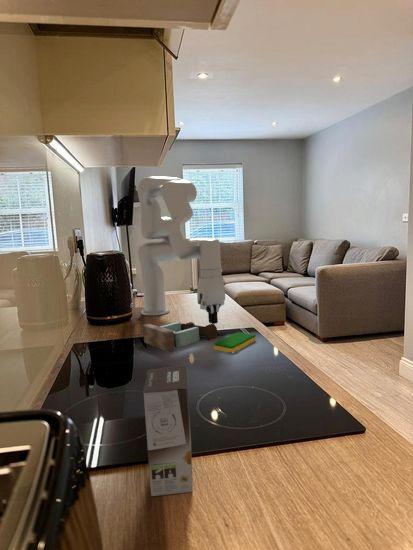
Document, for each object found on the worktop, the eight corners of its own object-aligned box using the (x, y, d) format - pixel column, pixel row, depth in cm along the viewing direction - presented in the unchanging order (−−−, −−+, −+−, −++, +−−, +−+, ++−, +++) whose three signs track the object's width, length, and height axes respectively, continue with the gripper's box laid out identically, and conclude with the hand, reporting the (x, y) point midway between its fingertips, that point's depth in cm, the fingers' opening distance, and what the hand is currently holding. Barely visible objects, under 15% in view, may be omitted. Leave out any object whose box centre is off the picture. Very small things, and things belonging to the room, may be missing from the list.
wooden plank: (144, 342, 127) (142, 325, 126) (150, 340, 129) (149, 323, 128) (168, 351, 116) (166, 333, 116) (174, 349, 118) (173, 331, 117)
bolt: (183, 337, 137) (214, 342, 127) (174, 333, 134) (205, 339, 124) (187, 321, 139) (219, 326, 129) (178, 317, 135) (210, 322, 125)
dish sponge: (213, 350, 117) (213, 343, 116) (238, 338, 127) (237, 331, 127) (232, 354, 112) (232, 346, 112) (256, 341, 123) (256, 334, 123)
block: (156, 340, 129) (155, 327, 128) (178, 334, 135) (178, 321, 134) (176, 347, 120) (175, 334, 119) (199, 340, 126) (198, 327, 125)
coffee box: (194, 492, 55) (187, 388, 53) (150, 497, 55) (142, 392, 52) (191, 454, 64) (186, 364, 62) (153, 458, 64) (146, 368, 61)
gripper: (219, 270, 142) (221, 317, 145) (188, 275, 133) (190, 325, 136) (233, 271, 137) (235, 320, 139) (201, 276, 127) (204, 329, 130)
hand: (213, 322), depth 137 cm, fingers closed
